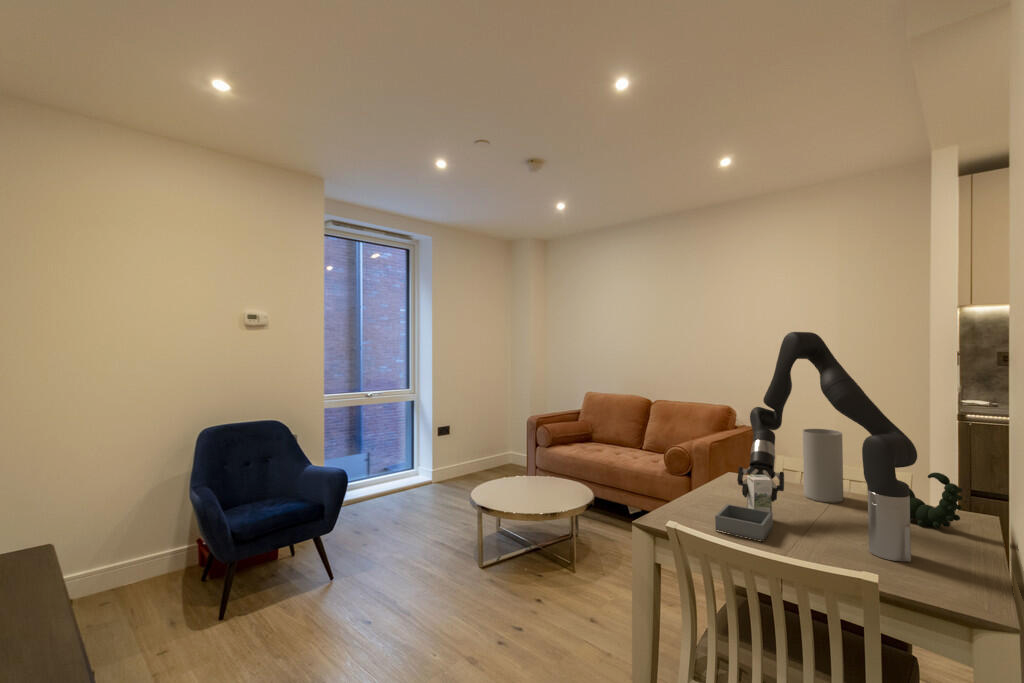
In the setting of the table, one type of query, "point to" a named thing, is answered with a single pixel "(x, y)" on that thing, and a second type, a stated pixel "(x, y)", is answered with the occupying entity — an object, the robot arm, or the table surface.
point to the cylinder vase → (823, 465)
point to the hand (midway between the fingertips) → (758, 498)
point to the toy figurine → (942, 511)
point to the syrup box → (759, 492)
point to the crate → (744, 522)
